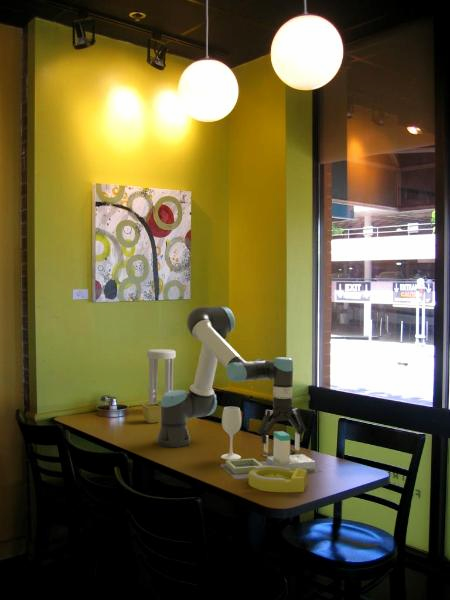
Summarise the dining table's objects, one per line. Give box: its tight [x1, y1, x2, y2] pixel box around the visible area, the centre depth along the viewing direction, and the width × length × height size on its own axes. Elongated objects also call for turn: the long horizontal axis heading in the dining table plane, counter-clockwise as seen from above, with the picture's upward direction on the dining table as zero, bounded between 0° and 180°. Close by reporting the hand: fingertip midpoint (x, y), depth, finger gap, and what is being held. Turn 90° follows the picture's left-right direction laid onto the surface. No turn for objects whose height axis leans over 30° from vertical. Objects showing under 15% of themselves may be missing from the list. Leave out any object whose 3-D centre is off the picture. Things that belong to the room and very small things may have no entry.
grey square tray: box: [225, 458, 263, 474], centre depth 246 cm, size 12×11×2 cm
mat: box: [219, 460, 323, 480], centre depth 246 cm, size 36×19×1 cm, turn 108°
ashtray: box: [248, 465, 308, 493], centre depth 227 cm, size 16×21×5 cm
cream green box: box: [272, 430, 291, 464], centre depth 246 cm, size 4×7×14 cm, turn 18°
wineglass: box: [220, 406, 242, 460], centre depth 262 cm, size 9×9×21 cm
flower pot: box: [141, 402, 161, 424], centre depth 326 cm, size 9×9×9 cm
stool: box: [146, 348, 177, 404], centre depth 351 cm, size 16×16×35 cm
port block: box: [266, 453, 316, 471], centre depth 247 cm, size 16×11×4 cm
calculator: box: [260, 449, 296, 459], centre depth 264 cm, size 9×12×3 cm
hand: (281, 450), depth 246 cm, fingers open, 13 cm apart
